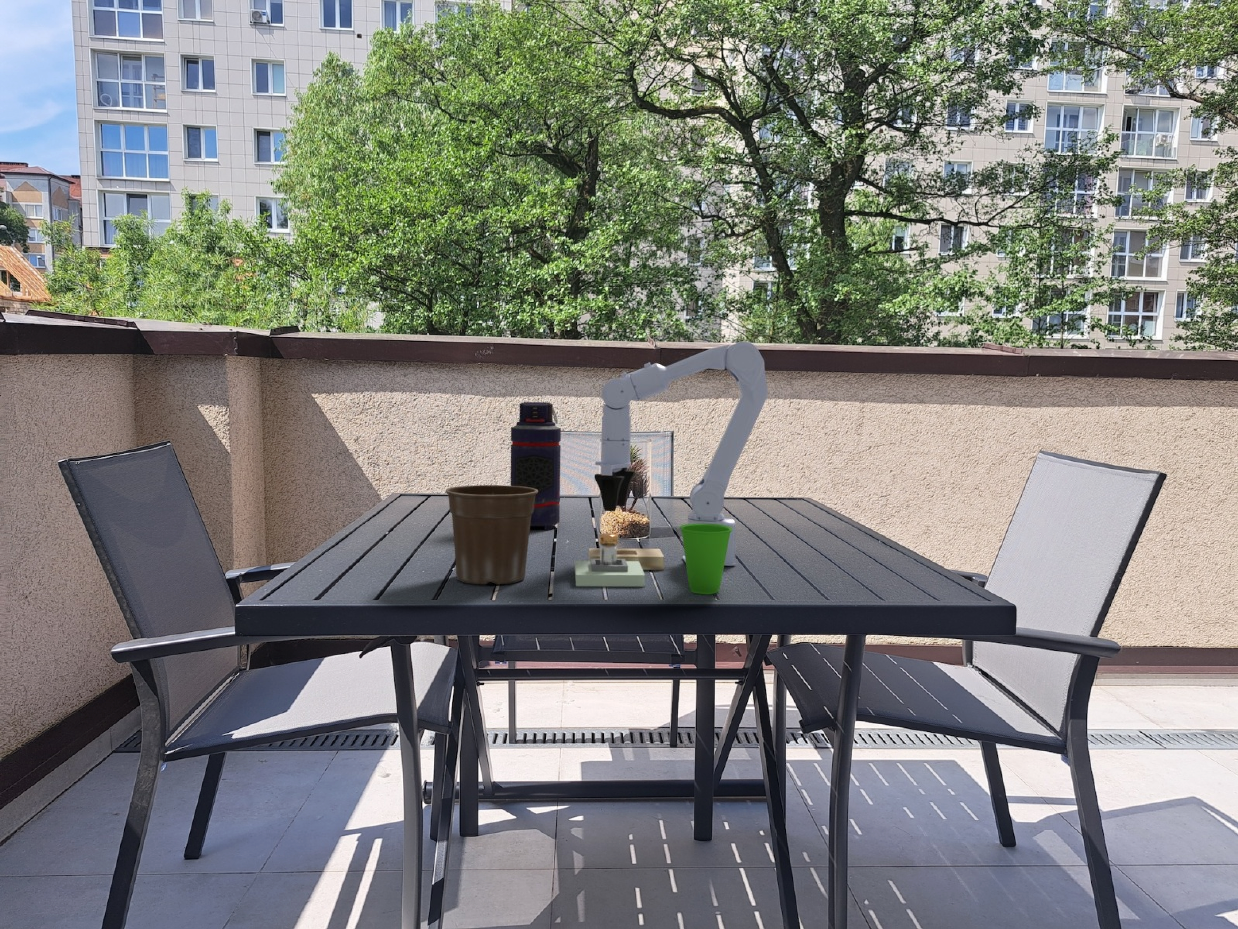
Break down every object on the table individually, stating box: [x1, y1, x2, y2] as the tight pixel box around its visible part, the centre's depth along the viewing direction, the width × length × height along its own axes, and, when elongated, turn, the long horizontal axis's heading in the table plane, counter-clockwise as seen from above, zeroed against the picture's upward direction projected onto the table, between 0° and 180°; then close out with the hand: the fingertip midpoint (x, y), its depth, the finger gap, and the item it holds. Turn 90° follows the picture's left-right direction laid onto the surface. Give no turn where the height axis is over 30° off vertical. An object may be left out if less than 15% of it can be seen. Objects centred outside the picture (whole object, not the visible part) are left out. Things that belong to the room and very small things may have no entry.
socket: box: [574, 559, 646, 587], centre depth 164 cm, size 12×12×3 cm
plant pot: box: [445, 484, 538, 585], centre depth 162 cm, size 16×16×16 cm
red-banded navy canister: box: [510, 401, 562, 531], centre depth 219 cm, size 14×12×30 cm
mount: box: [588, 547, 665, 571], centre depth 176 cm, size 14×8×2 cm, turn 94°
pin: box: [598, 532, 619, 565], centre depth 164 cm, size 3×3×8 cm
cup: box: [679, 523, 732, 595], centre depth 156 cm, size 9×9×11 cm
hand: (614, 508), depth 180 cm, fingers open, 7 cm apart
